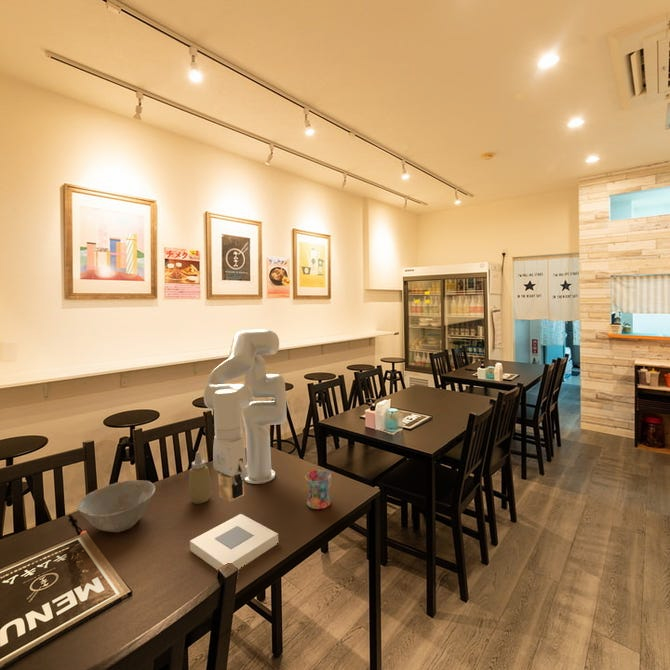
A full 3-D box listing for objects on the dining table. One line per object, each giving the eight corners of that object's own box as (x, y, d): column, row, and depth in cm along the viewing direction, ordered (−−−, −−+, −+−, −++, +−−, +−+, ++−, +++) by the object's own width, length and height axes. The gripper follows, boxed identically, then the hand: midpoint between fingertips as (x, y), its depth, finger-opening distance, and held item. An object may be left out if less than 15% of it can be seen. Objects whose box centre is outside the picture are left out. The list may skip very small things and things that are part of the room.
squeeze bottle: (215, 494, 147) (213, 448, 145) (206, 506, 139) (203, 457, 137) (195, 494, 147) (192, 448, 146) (185, 505, 139) (181, 456, 138)
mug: (318, 514, 131) (317, 484, 130) (300, 505, 138) (299, 476, 137) (342, 501, 140) (342, 472, 139) (324, 492, 146) (323, 465, 145)
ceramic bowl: (80, 556, 113) (77, 523, 112) (80, 520, 132) (77, 491, 131) (163, 529, 125) (161, 499, 124) (151, 500, 144) (149, 474, 143)
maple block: (219, 496, 113) (218, 473, 113) (233, 490, 117) (232, 467, 116) (229, 502, 110) (228, 478, 109) (244, 495, 114) (243, 471, 113)
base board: (190, 550, 114) (189, 540, 114) (241, 522, 128) (240, 513, 127) (226, 577, 102) (226, 565, 102) (278, 543, 116) (278, 533, 116)
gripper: (200, 430, 115) (204, 490, 116) (235, 442, 104) (239, 508, 105) (222, 423, 120) (225, 480, 122) (258, 434, 109) (260, 497, 111)
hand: (231, 492), depth 113 cm, fingers closed on maple block, 5 cm apart
